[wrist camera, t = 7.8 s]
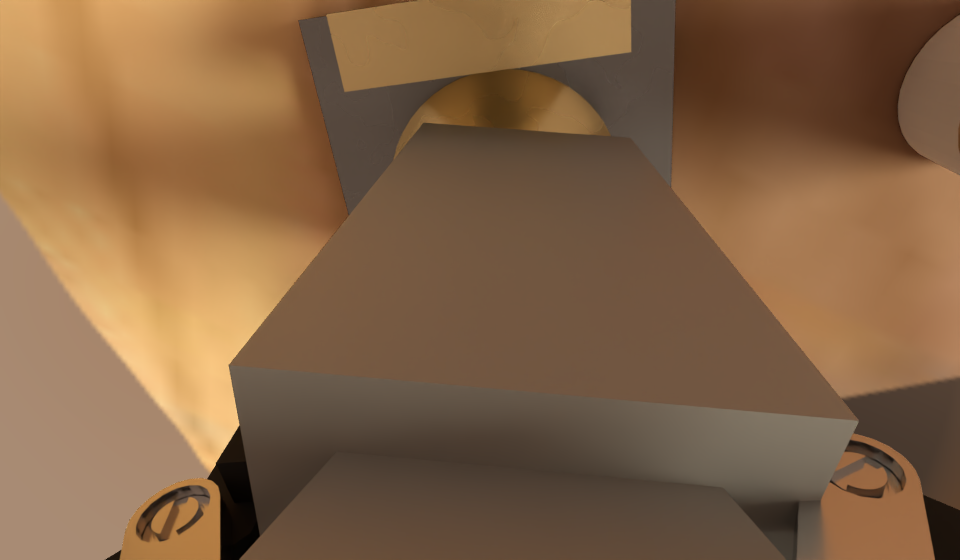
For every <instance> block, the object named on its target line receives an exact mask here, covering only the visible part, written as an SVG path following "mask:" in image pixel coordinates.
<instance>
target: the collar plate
mask: <svg viewBox="0 0 960 560" xmlns="http://www.w3.org/2000/svg"><path fill="white" fill-rule="evenodd" d="M675 3H676V0H416V1H410V2H403V3H397V4H390V5H384V6H377V7H371V8H364V9H358V10H351V11H345V12H338V13H332V14H326V16H324V17H318V18H311V19H305V20H298V21H299V25H300V28H301V32H302V36H303V40H304V44H305V48H306V52H307V55H308V59H309V63H310V67H311V71H312V75H313V79H314V82H315V86H316V90H317V94H318V98H319V102H320V106H321V109H322V113H323V117H324V121H325V125H326V129H327V133H328V136H329V140H330V144H331V148H332V152H333V156H334V160H335V163H336V167H337V171H338V175H339V179H340V183H341V187H342V190H343V194H344V198H345V202H346V206H347V210H348V214H349V215H350V214H351V212H352V211H353V210H354V209H355V207H356V206H357V205H358V204H359V202H360V201H361V200H362V199H363V197H364V196H365V195H366V194H367V192H368V191H369V190H370V189H371V187H372V186H373V185H374V184H375V182H376V181H377V180H378V179H379V178H380V176H381V175H382V174H383V173H384V171H385V170H386V169H387V168H388V166H389V165H390V164H391V163H392V161H393V160H394V159H395V158H396V156H397V155H398V154H399V153H400V151H401V150H402V149H403V148H404V146H405V145H406V144H407V143H408V141H409V140H410V139H411V138H412V136H413V135H414V134H415V133H416V131H417V130H418V129H419V128H420V126H421V125H422V124H423V123H435V124H449V125H462V126H476V127H490V128H504V129H517V130H531V131H545V132H558V133H572V134H586V135H600V136H613V137H627V138H631V139H632V140H633V142H634V143H635V144H636V145H637V147H638V148H639V149H640V150H641V151H642V153H643V154H644V155H645V156H646V158H647V159H648V160H649V161H650V163H651V164H652V165H653V166H654V168H655V169H656V170H657V171H658V173H659V174H660V175H661V176H662V178H663V179H664V180H665V181H666V182H667V184H668V185H669V186H670V187H671V170H672V128H673V87H674V45H675Z"/></svg>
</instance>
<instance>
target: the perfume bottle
mask: <svg viewBox="0 0 960 560" xmlns="http://www.w3.org/2000/svg"><path fill="white" fill-rule="evenodd" d="M229 370H230V375H231V380H232V386H233V391H234V397H235V402H236V408H237V413H238V419H239V424H240V430H241V435H242V440H243V446H244V451H245V457H246V462H247V468H248V473H249V479H250V484H251V490H252V495H253V500H254V506H255V511H256V517H257V522H258V528H259V533H260V537H259V538H258V539H257V540H256V542H255V543H254V544H253V545H252V546H251V547H250V548H249V549H248V550H247V552H246V553H245V554H244V555H243V556H242V557H241V558H240V559H239V560H792V559H793V537H794V527H795V521H796V515H797V509H798V504H799V501H812V500H821V499H822V496H823V494H824V492H825V490H826V488H827V486H828V484H829V482H830V480H831V478H832V476H833V474H834V472H835V469H836V467H837V465H838V463H839V461H840V459H841V457H842V455H843V453H844V451H845V449H846V447H847V445H848V443H849V440H850V438H851V436H852V434H853V432H854V430H855V428H856V426H857V424H858V422H859V420H858V419H857V418H856V417H855V415H854V414H853V413H852V412H851V410H850V409H849V408H848V407H847V405H846V404H845V403H844V402H843V401H842V399H841V398H840V397H839V396H838V394H837V393H836V392H835V391H834V389H833V388H832V387H831V386H830V384H829V383H828V382H827V381H826V379H825V378H824V377H823V376H822V375H821V373H820V372H819V371H818V370H817V368H816V367H815V366H814V365H813V363H812V362H811V361H810V360H809V358H808V357H807V356H806V355H805V353H804V352H803V351H802V350H801V348H800V347H799V346H798V345H797V344H796V342H795V341H794V340H793V339H792V337H791V336H790V335H789V334H788V332H787V331H786V330H785V329H784V327H783V326H782V325H781V324H780V322H779V321H778V320H777V319H776V318H775V316H774V315H773V314H772V313H771V311H770V310H769V309H768V308H767V306H766V305H765V304H764V303H763V301H762V300H761V299H760V298H759V296H758V295H757V294H756V293H755V291H754V290H753V289H752V288H751V287H750V285H749V284H748V283H747V282H746V280H745V279H744V278H743V277H742V275H741V274H740V273H739V272H738V270H737V269H736V268H735V267H734V265H733V264H732V263H731V262H730V261H729V259H728V258H727V257H726V256H725V254H724V253H723V252H722V251H721V249H720V248H719V247H718V246H717V244H716V243H715V242H714V241H713V239H712V238H711V237H710V236H709V235H708V233H707V232H706V231H705V230H704V228H703V227H702V226H701V225H700V223H699V222H698V221H697V220H696V218H695V217H694V216H693V215H692V213H691V212H690V211H689V210H688V208H687V207H686V206H685V205H684V204H683V202H682V201H681V200H680V199H679V197H678V196H677V195H676V194H675V192H674V191H673V190H672V189H671V187H670V186H669V185H668V184H667V182H666V181H665V180H664V179H663V178H662V176H661V175H660V174H659V173H658V171H657V170H656V169H655V168H654V166H653V165H652V164H651V163H650V161H649V160H648V159H647V158H646V156H645V155H644V154H643V153H642V151H641V150H640V149H639V148H638V147H637V145H636V144H635V143H634V142H633V140H632V139H631V138H627V137H613V136H600V135H586V134H572V133H558V132H545V131H531V130H517V129H504V128H490V127H476V126H462V125H449V124H435V123H423V124H422V125H421V126H420V128H419V129H418V130H417V131H416V133H415V134H414V135H413V136H412V138H411V139H410V140H409V141H408V143H407V144H406V145H405V146H404V148H403V149H402V150H401V151H400V153H399V154H398V155H397V156H396V158H395V159H394V160H393V161H392V163H391V164H390V165H389V166H388V168H387V169H386V170H385V171H384V173H383V174H382V175H381V176H380V178H379V179H378V180H377V181H376V182H375V184H374V185H373V186H372V187H371V189H370V190H369V191H368V192H367V194H366V195H365V196H364V197H363V199H362V200H361V201H360V202H359V204H358V205H357V206H356V207H355V209H354V210H353V211H352V212H351V214H350V215H349V216H348V217H347V219H346V220H345V221H344V222H343V224H342V225H341V226H340V227H339V229H338V230H337V231H336V232H335V234H334V235H333V236H332V237H331V238H330V240H329V241H328V242H327V243H326V245H325V246H324V247H323V248H322V250H321V251H320V252H319V253H318V255H317V256H316V257H315V258H314V260H313V261H312V262H311V263H310V265H309V266H308V267H307V268H306V270H305V271H304V272H303V273H302V275H301V276H300V277H299V278H298V280H297V281H296V282H295V283H294V285H293V286H292V287H291V288H290V290H289V291H288V292H287V293H286V295H285V296H284V297H283V298H282V299H281V301H280V302H279V303H278V304H277V306H276V307H275V308H274V309H273V311H272V312H271V313H270V314H269V316H268V317H267V318H266V319H265V321H264V322H263V323H262V324H261V326H260V327H259V328H258V329H257V331H256V332H255V333H254V334H253V336H252V337H251V338H250V339H249V341H248V342H247V343H246V344H245V346H244V347H243V348H242V349H241V351H240V352H239V353H238V354H237V355H236V357H235V358H234V359H233V360H232V362H231V363H230V364H229Z"/></svg>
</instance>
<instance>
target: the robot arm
mask: <svg viewBox="0 0 960 560" xmlns="http://www.w3.org/2000/svg"><path fill="white" fill-rule="evenodd" d="M259 537H260V533H259V528H258V522H257V517H256V511H255V506H254V500H253V495H252V490H251V484H250V479H249V473H248V468H247V462H246V457H245V451H244V446H243V440H242V435H241V430H240V426H239V427H238V429H237V430H236V432H235V434H234V435H233V437H232V438H231V440H230V442H229V443H228V445H227V446H226V448H225V450H224V451H223V453H222V454H221V456H220V458H219V459H218V461H217V462H216V466H215V467H214V469H213V470H212V472H211V474H210V475H209V477H208V479H203V478H199V479H198V478H197V479H188V480H184V481H181V482H177V483H175V484H173V485H171V486H169V487H166V488H164V489H162V490H161V491H159V492H158V493H156V494H155V495H153V496H152V497H151V498H149V499H148V500H147V501H146V502H145V503H144V504H143V505H141V506H140V507H139V508H138V509H137V511H136V512H135V514H134V515H133V516H132V517H131V519H130V520H129V523H128V525H127V528H126V531H125V535H124V540H123V545H122V550H120V551H119V552H117V553H115V554H114V555H112V556H110V557H109V558H107V559H106V560H239V559H240V558H241V557H242V556H243V555H244V554H245V553H246V552H247V550H248V549H249V548H250V547H251V546H252V545H253V544H254V543H255V542H256V540H257V539H258V538H259ZM792 560H960V510H958V509H955V508H953V507H951V506H948V505H946V504H944V503H941V502H939V501H936V500H934V499H931V498H929V497H927V496H924V495H923V494H922V489H921V483H920V480H919V477H918V475H917V473H916V471H915V468H914V467H913V466H912V465H911V464H910V463H909V462H908V461H907V460H906V459H905V457H903V456H902V455H901V454H899V453H898V452H896V451H895V450H893V449H892V448H891V447H889V446H887V445H885V444H883V443H880V442H878V441H876V440H874V439H871V438H868V437H864V436H861V435H857V434H852V436H851V438H850V440H849V443H848V445H847V447H846V449H845V451H844V453H843V455H842V457H841V459H840V461H839V463H838V465H837V467H836V469H835V472H834V474H833V476H832V478H831V480H830V482H829V484H828V486H827V488H826V490H825V492H824V494H823V496H822V499H821V500H812V501H799V504H798V509H797V515H796V521H795V527H794V537H793V559H792Z"/></svg>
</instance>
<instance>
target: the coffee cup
mask: <svg viewBox="0 0 960 560" xmlns="http://www.w3.org/2000/svg"><path fill="white" fill-rule="evenodd" d="M898 121H899V124H900V128H901V131H902V134H903V136H904V137H905V139H906V141H907V142H908V144H909V145H910V146H911V147H912V148H913V149H914V150H915V151H916V152H917V153H919V154H920V155H922V156H924V157H926V158H927V159H929V160H931V161H933V162H935V163H937V164H939V165H941V166H943V167H945V168H947V169H949V170H950V171H952V172H954V173H956V174H958V175H960V15H958V16H957V17H955V18H954V19H953V20H951V21H950V22H949V23H947V24H946V25H945V26H943V27H942V28H941V29H940V30H939V31H938V32H937V33H936V34H935V35H934V36H933V37H932V38H931V39H930V40H929V41H928V42H927V43H926V44H925V45H924V47H923V48H922V49H921V51H920V52H919V53H918V55H917V56H916V57H915V59H914V61H913V62H912V64H911V66H910V68H909V70H908V71H907V73H906V76H905V78H904V81H903V84H902V87H901V89H900V94H899V101H898Z"/></svg>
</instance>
